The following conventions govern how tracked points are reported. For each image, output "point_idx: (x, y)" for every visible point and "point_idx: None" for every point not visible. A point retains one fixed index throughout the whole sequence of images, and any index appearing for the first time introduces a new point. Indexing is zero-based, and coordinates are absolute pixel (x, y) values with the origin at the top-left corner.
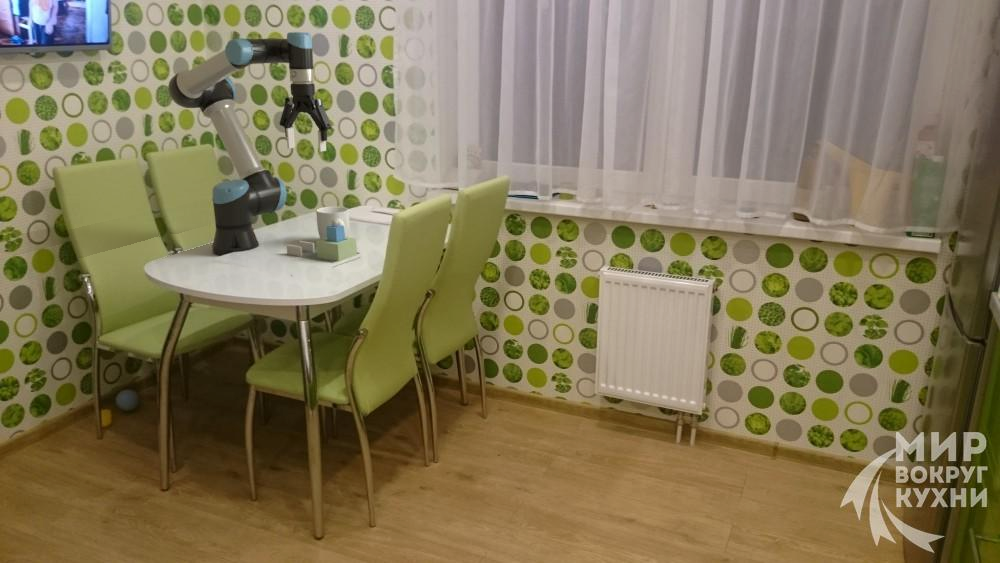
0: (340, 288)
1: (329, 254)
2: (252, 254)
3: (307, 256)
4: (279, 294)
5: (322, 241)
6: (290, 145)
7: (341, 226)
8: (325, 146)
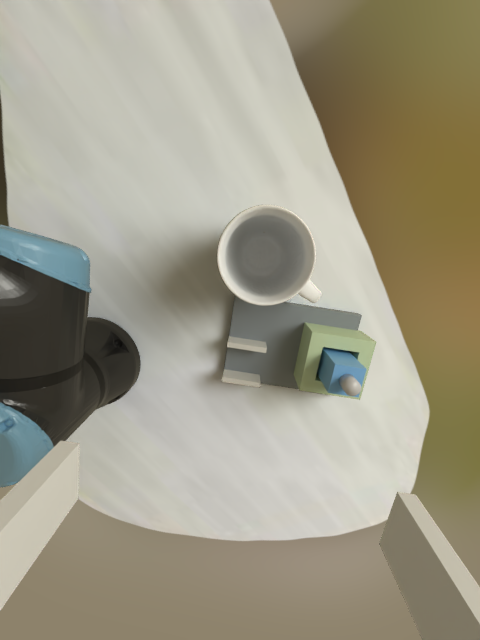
0: (404, 478)
1: None
2: (145, 370)
3: (271, 375)
4: (329, 524)
5: (314, 389)
6: (64, 505)
7: (363, 377)
8: (437, 536)
